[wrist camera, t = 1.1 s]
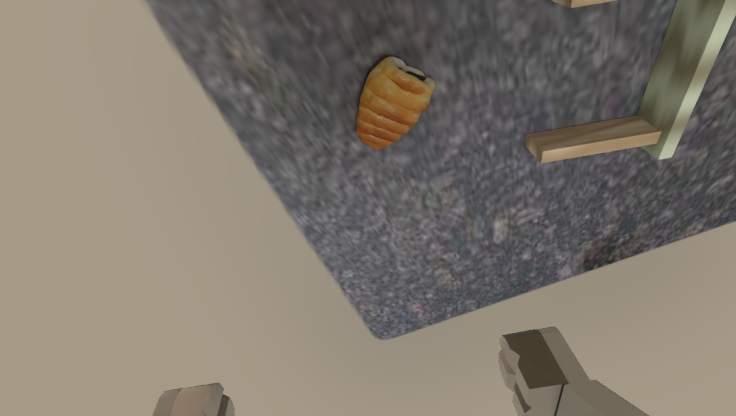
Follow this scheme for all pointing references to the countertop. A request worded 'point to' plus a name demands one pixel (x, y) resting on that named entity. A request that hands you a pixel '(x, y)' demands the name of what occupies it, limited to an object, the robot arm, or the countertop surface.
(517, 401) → the robot arm
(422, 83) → the pastry
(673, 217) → the countertop surface
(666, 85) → the wooden wall rack
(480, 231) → the countertop surface
